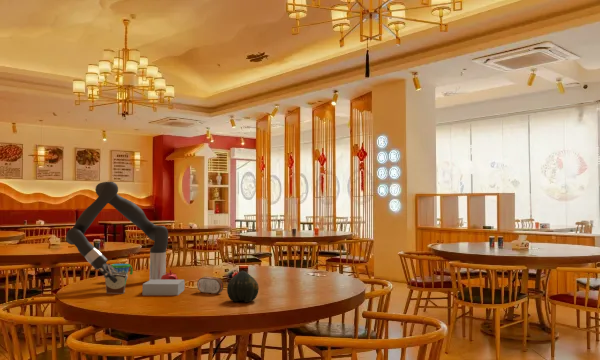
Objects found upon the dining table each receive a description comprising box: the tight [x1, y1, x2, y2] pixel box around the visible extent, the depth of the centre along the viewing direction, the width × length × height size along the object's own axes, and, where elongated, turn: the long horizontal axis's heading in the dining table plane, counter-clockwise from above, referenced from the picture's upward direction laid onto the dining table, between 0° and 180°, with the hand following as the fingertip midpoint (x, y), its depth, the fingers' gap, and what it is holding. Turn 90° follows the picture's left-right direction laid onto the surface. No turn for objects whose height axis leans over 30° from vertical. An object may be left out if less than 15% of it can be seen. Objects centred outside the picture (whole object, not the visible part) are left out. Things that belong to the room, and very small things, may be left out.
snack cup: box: [110, 263, 134, 281], centre depth 305 cm, size 16×10×10 cm
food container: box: [103, 273, 129, 295], centre depth 267 cm, size 12×6×10 cm, turn 84°
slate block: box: [142, 279, 185, 296], centre depth 267 cm, size 16×18×6 cm
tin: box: [196, 276, 224, 295], centre depth 266 cm, size 15×3×8 cm, turn 65°
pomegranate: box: [161, 269, 179, 280], centre depth 287 cm, size 10×10×9 cm
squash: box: [226, 270, 260, 303], centre depth 245 cm, size 14×15×15 cm
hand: (118, 280), depth 267 cm, fingers open, 8 cm apart
